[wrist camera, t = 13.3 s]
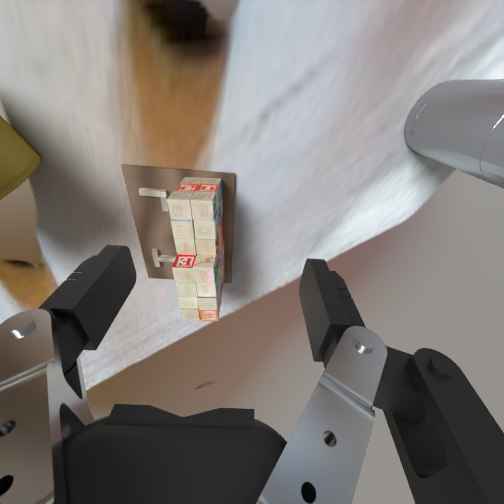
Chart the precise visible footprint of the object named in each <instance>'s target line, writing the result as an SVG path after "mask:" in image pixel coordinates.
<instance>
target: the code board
mask: <svg viewBox="0 0 504 504" xmlns="http://www.w3.org/2000/svg"><path fill="white" fill-rule="evenodd" d="M121 167H122V171H123V175H124V179H125V183H126V187H127V191H128V195H129V199H130V203H131V207H132V212H133V216H134V220H135V224H136V228H137V232H138V236H139V240H140V244H141V248H142V253H143V257H144V261H145V265H146V269H147V273H148V277H149V278H161V279H174V275H173V271H172V266H173V263H174V261H175V259H176V256H177V255H178V254H177V251H176V247H175V242H174V236H173V231H172V226H171V218H170V214H169V209H168V204H167V199H168V197H169V196H170V194H171V193H172V192H173V191H175V189H176V188H177V186H178V185H179V184H180V183H181V181H182V180H183V179H184V177H200V178H218V179H221V180H222V202H223V213H222V227H223V241H224V263H225V264H224V282H227V283H231V267H232V239H233V210H234V182H235V173H224V172H212V171H199V170H187V169H174V168H162V167H150V166H137V165H125V164H123V165H121Z"/></svg>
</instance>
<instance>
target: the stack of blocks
mask: <svg viewBox="0 0 504 504" xmlns="http://www.w3.org/2000/svg"><path fill="white" fill-rule="evenodd" d="M167 204H168V209H169V214H170V218H171V226H172V231H173V236H174V242H175V247H176V251H177V254H178V255H177V256H176V259H175V261H174V263H173V266H172V271H173V275H174V279H175V282H176V287H177V291H178V298H179V303H180V307H181V314H182V319H183V320H193V321H200V320H201V321H218V320H219V311H220V304H221V297H222V287H223V283H224V264H225V263H224V241H223V227H222V213H223V202H222V180H221V179H218V178H200V177H184V179H183V180H182V181H181V183H180V184H179V185H178V186H177V188H176V189H175V191H173V192H172V193H171V194H170V196H169V197H168V199H167Z"/></svg>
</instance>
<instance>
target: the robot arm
mask: <svg viewBox="0 0 504 504" xmlns="http://www.w3.org/2000/svg"><path fill="white" fill-rule="evenodd" d="M405 140H406V142H407V145H408V146H409V147H410V149H412V150H413V151H415V152H417V153H419V154H422V155H424V156H426V157H429V158H431V159H433V160H436V161H438V162H441V163H443V164H445V165H448V166H450V167H453V168H455V169H458V170H460V171H462V172H465V173H467V174H470V175H472V176H475V177H477V178H480V179H482V180H484V181H487V182H489V183H492V184H494V185H497V186H500V187H502V188H504V79H492V80H453V81H447V82H444V83H441V84H439V85H437V86H435V87H433V88H432V89H430V90H429V91H428V92H427V93H425V94H424V95H423V96H422V97H421V98H420V99H419V100H418V101H417V103H416V104H415V106H414V107H413V108H412V110H411V112H410V114H409V116H408V118H407V122H406V125H405ZM135 282H136V270H135V267H134V263H133V260H132V256H131V253H130V249H129V248H128V247H127V246H118V245H107V246H106V247H105V248H104V249H103V250H102V251H101V252H100V253H99V254H98V255H97V256H95V255H94V256H93V257H91V258H89V259H88V260H86V261H84V262H82V263H81V264H80V265H79V266H78V268H77V269H76V270H75V271H74V273H72V274H71V275H70V276H69V277H68V278H67V281H66V280H65V281H64V282H63V283H62V284H61V285H60V286H59V287H58V288H57V289H56V290H55V291H54V292H53V293H52V295H51V296H50V297H49V298H48V299H47V300H46V301H45V302H44V303H43V304H42V305H41V306H40V307H39V308H38V309H31V310H27V311H23V312H20V313H18V314H16V315H14V316H12V317H10V318H8V319H7V320H5V321H4V322H3V323H1V324H0V504H351V503H352V500H353V496H354V492H355V489H356V485H357V481H358V477H359V474H360V471H361V467H362V463H363V460H364V456H365V453H366V449H367V445H368V442H369V438H370V434H371V431H372V427H373V423H374V419H375V411H374V410H372V406H374V407H377V408H379V409H382V410H383V412H384V414H385V417H386V420H387V423H388V426H389V429H390V432H391V435H392V437H393V440H394V443H395V446H396V449H397V452H398V455H399V458H400V461H401V463H402V466H403V469H404V472H405V475H406V478H407V480H408V483H409V486H410V489H411V492H412V495H413V498H414V501H415V504H504V433H503V431H502V430H501V428H500V427H499V425H498V424H497V423H496V421H495V420H494V418H493V417H492V415H491V414H490V412H489V411H488V409H487V408H486V406H485V405H484V403H483V402H482V400H481V399H480V397H479V396H478V394H477V393H476V392H475V390H474V388H473V387H472V386H471V384H470V382H469V381H468V380H467V378H466V376H465V375H464V374H463V372H462V371H461V369H460V368H459V367H458V366H457V365H456V363H454V362H453V361H452V360H451V359H450V358H448V357H447V356H445V355H444V354H442V353H440V352H438V351H436V350H432V349H428V348H422V349H419V350H417V351H416V352H415V354H414V355H411V354H408V353H405V352H402V351H399V350H396V349H393V348H390V347H388V346H386V345H385V344H384V342H383V341H382V339H381V338H380V337H379V336H378V335H377V334H376V333H374V332H373V331H371V330H369V329H367V328H366V327H365V325H364V323H363V320H362V318H361V316H360V314H359V312H358V310H357V307H356V306H355V303H354V301H353V299H352V298H351V295H350V293H349V291H348V288H347V286H346V284H345V282H344V280H343V279H342V278H341V277H340V276H339V275H338V274H337V273H336V272H335V271H329V269H328V266H327V264H326V261H325V260H323V259H307V260H306V263H305V266H304V270H303V274H302V277H301V281H300V286H299V294H300V300H301V304H302V309H303V314H304V318H305V323H306V327H307V332H308V336H309V341H310V345H311V350H312V354H313V358H314V361H317V362H323V363H324V367H325V371H324V372H323V374H322V376H321V378H320V380H319V382H318V384H317V386H316V388H315V390H314V392H313V394H312V396H311V398H310V400H309V402H308V404H307V405H306V407H305V409H304V411H303V413H302V415H301V417H300V419H299V421H298V423H297V425H296V427H295V429H294V431H293V433H292V435H291V437H290V439H289V440H288V442H286V441H285V439H284V438H283V437H282V436H281V435H279V434H278V432H276V431H275V430H274V429H273V428H271V427H270V426H268V425H267V424H265V423H263V422H261V421H259V420H256V419H254V409H236V408H218V409H214V410H211V411H207V412H203V413H199V414H195V415H191V416H187V417H180V416H177V415H175V414H172V413H169V412H166V411H164V410H161V409H158V408H156V407H153V406H150V405H127V404H114V407H113V409H112V411H111V414H110V415H109V416H106V417H103V418H100V419H98V420H96V421H94V418H93V415H92V413H91V411H90V408H89V405H88V401H87V396H86V390H85V384H84V378H83V373H82V367H81V361H80V359H79V355H80V354H81V352H82V351H83V350H96V349H97V348H98V346H99V344H100V343H101V341H102V339H103V338H104V336H105V334H106V333H107V331H108V329H109V328H110V326H111V324H112V322H113V321H114V319H115V317H116V316H117V314H118V312H119V311H120V309H121V307H122V306H123V304H124V302H125V301H126V299H127V297H128V295H129V294H130V292H131V290H132V289H133V287H134V285H135Z"/></svg>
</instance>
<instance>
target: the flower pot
mask: <svg viewBox="0 0 504 504" xmlns="http://www.w3.org/2000/svg"><path fill="white" fill-rule="evenodd" d="M40 163H41V159H40V157H39V155H38V154H37V153H36V152H35V151H34V150H33V149H32V148H31V147H30V146H29V145H28V144H27V143H26V142H25V140H24V139H23V138H22V137H21V136H20V135H19V134H18V133H17V132H16V131H15V130H14V129H13V128H12V127H11V126H10V125H9V124H8V123H7V122H6V121H5V120H4V119H3V118H2V117H1V116H0V200H1V199H2V198H3V197H5V196H6V195H8V194H9V193H10V192H12V191H13V190H14V189H16V188H17V187H18V186H19V185H21V184H22V183H23V182H24V181H25V180H26V179H27V178H28V177H29V176H30V175H31V174H32V173H33V172H34V171H35V170H36V168H37V167H38V166H39V165H40Z"/></svg>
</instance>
